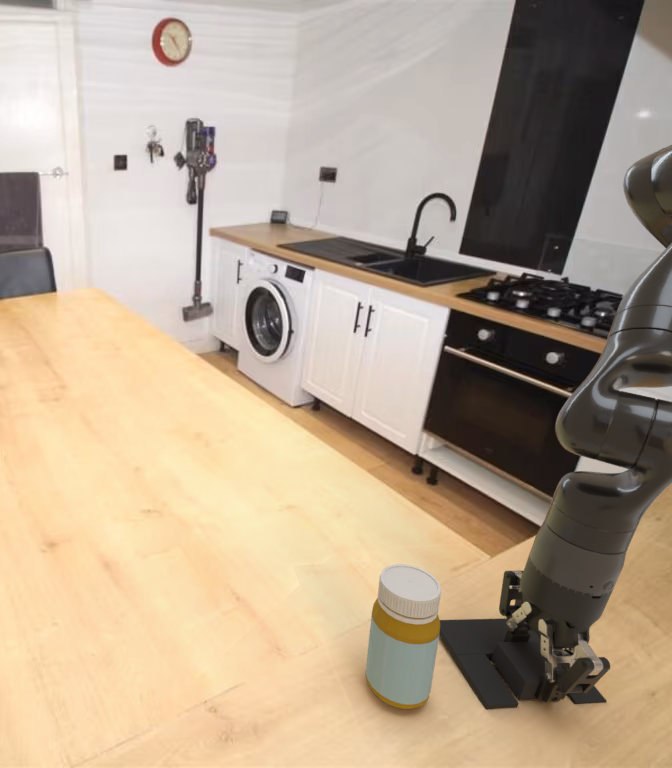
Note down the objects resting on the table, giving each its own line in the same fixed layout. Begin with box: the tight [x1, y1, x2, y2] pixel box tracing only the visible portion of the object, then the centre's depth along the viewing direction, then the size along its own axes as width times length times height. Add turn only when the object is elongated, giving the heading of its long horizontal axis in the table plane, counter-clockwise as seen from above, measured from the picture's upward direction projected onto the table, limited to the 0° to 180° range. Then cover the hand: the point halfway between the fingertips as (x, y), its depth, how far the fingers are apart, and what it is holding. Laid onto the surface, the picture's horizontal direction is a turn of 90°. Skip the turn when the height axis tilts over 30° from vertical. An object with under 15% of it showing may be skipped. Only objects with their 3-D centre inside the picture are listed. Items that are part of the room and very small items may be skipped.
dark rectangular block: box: [490, 641, 567, 701], centre depth 64 cm, size 5×5×3 cm
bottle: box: [365, 563, 442, 710], centre depth 62 cm, size 7×7×15 cm
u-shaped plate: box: [439, 618, 608, 710], centre depth 67 cm, size 14×12×1 cm
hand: (527, 675), depth 65 cm, fingers closed on dark rectangular block, 5 cm apart
